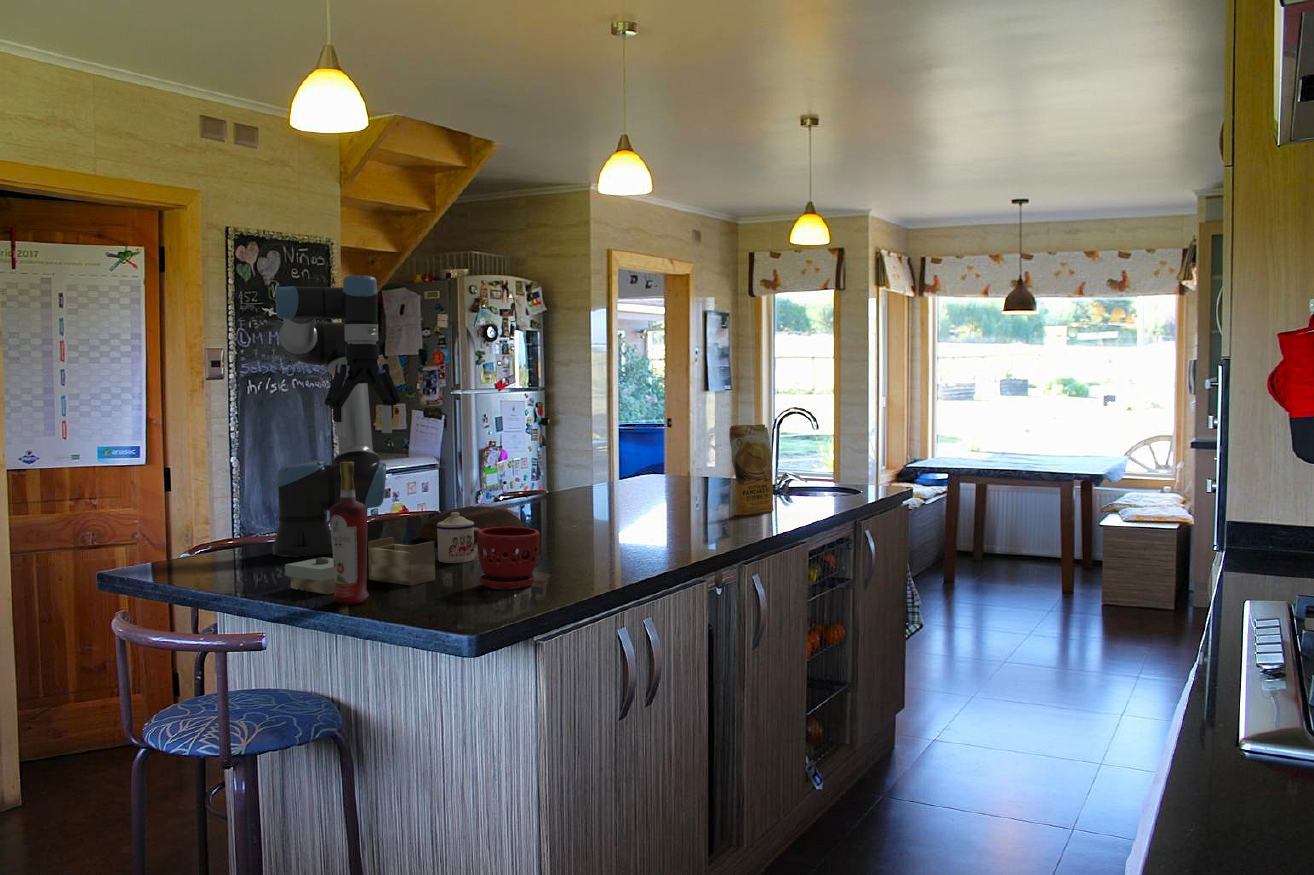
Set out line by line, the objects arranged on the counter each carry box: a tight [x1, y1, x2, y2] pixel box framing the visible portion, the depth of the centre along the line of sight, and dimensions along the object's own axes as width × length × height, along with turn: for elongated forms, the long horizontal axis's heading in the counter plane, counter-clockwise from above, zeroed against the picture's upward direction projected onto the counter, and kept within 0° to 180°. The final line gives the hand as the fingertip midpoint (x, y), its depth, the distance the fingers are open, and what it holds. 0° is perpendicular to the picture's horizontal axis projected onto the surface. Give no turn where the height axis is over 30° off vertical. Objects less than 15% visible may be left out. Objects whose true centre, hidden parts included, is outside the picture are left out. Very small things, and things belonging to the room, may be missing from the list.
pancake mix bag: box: [728, 423, 774, 516], centre depth 329 cm, size 7×19×28 cm, turn 128°
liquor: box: [328, 462, 370, 606], centre depth 207 cm, size 7×7×28 cm
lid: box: [284, 556, 335, 581], centre depth 222 cm, size 11×10×3 cm
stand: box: [289, 576, 335, 595], centre depth 222 cm, size 12×7×3 cm, turn 57°
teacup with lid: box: [436, 512, 480, 564], centre depth 254 cm, size 12×9×12 cm
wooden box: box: [367, 536, 436, 586], centre depth 230 cm, size 13×7×8 cm, turn 57°
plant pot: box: [477, 526, 541, 590], centre depth 222 cm, size 13×13×12 cm
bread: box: [419, 505, 524, 545], centre depth 288 cm, size 28×27×9 cm
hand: (364, 434), depth 244 cm, fingers open, 13 cm apart
